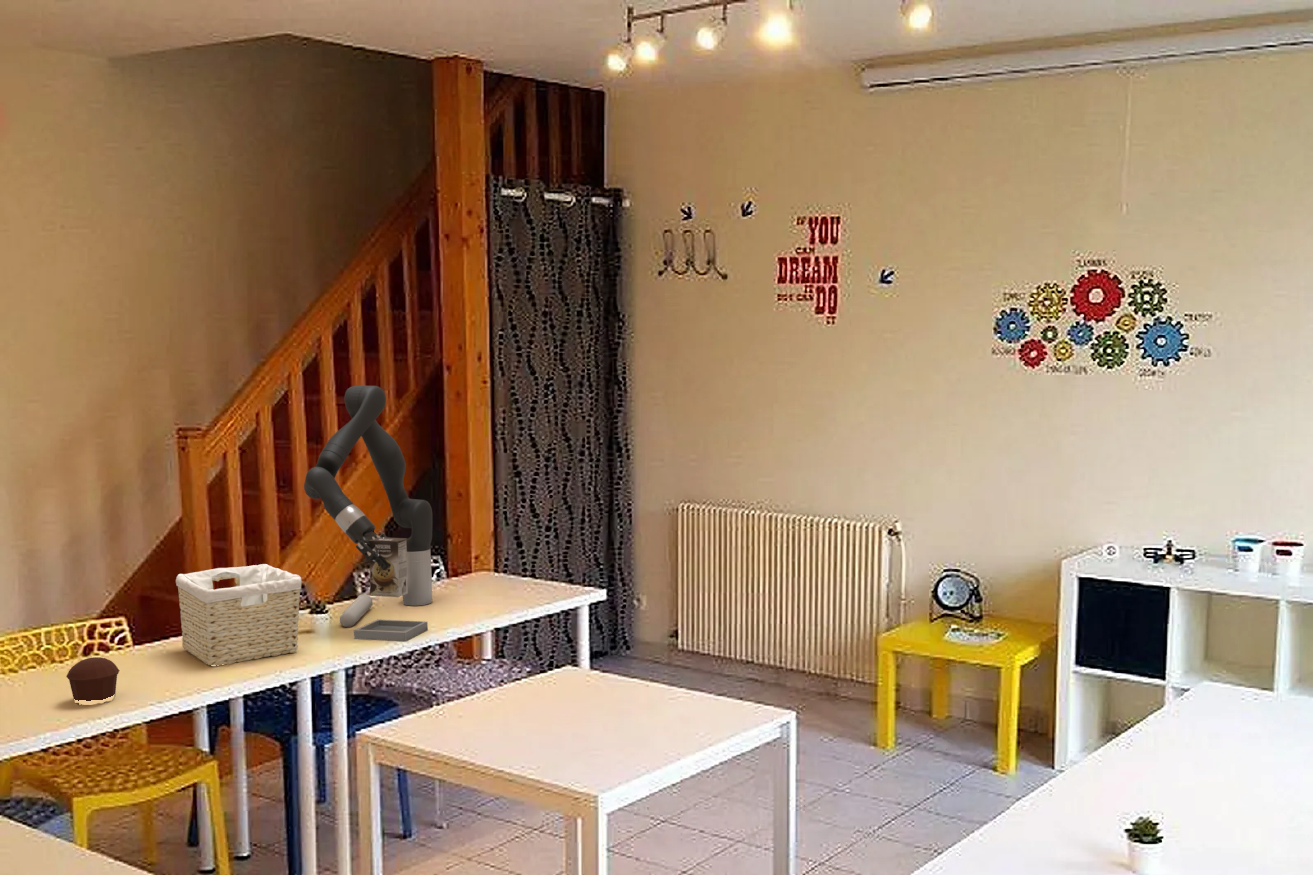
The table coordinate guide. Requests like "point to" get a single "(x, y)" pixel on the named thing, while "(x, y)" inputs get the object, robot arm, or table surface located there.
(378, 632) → the dish
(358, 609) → the tube
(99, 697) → the muffin
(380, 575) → the coffee box
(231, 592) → the basket
